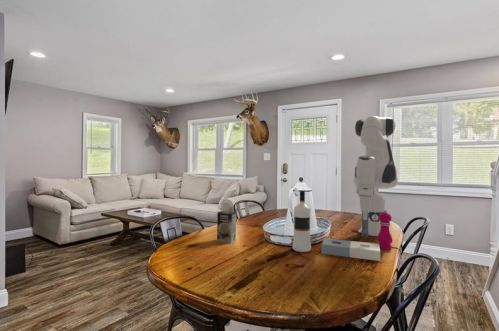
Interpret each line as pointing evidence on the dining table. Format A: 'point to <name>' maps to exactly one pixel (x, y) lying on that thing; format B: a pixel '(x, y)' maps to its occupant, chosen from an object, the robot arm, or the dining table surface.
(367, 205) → the robot arm
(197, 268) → the dining table surface
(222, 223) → the coffee box
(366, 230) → the lock pin
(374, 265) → the dining table surface
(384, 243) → the pepper mill
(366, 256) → the pin board
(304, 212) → the vodka
